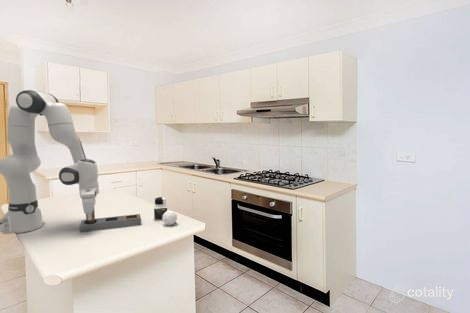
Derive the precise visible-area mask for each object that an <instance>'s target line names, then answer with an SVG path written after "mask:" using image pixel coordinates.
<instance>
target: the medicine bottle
mask: <svg viewBox="0 0 470 313" xmlns="http://www.w3.org/2000/svg"><path fill="white" fill-rule="evenodd" d="M166 200H167V199H166V197H162V196H159V197H156V198H154V205H153V217H154V218H153V219H154V221H163V220H162V217H163V214H164V213H165V212H167V211H168V204H167V201H166Z"/></svg>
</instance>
